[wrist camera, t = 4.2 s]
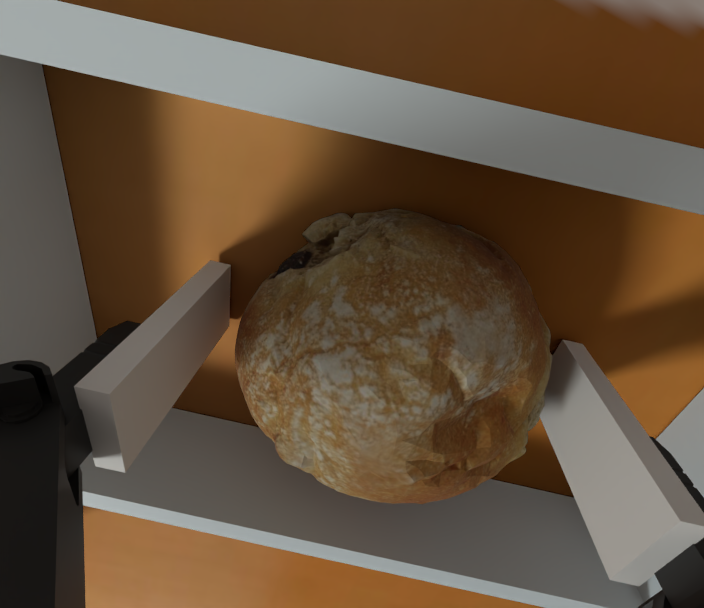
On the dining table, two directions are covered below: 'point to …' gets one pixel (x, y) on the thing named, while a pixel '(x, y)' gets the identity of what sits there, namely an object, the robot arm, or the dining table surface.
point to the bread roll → (395, 357)
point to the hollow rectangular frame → (249, 441)
